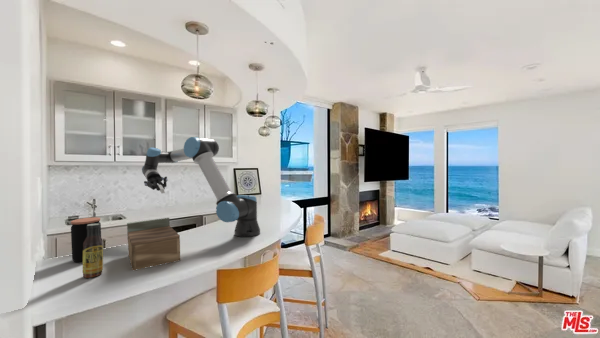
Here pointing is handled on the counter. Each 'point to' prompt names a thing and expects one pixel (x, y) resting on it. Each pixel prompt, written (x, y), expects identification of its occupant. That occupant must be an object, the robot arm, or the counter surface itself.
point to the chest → (154, 253)
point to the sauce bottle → (92, 252)
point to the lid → (150, 231)
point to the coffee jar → (81, 236)
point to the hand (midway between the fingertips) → (162, 191)
